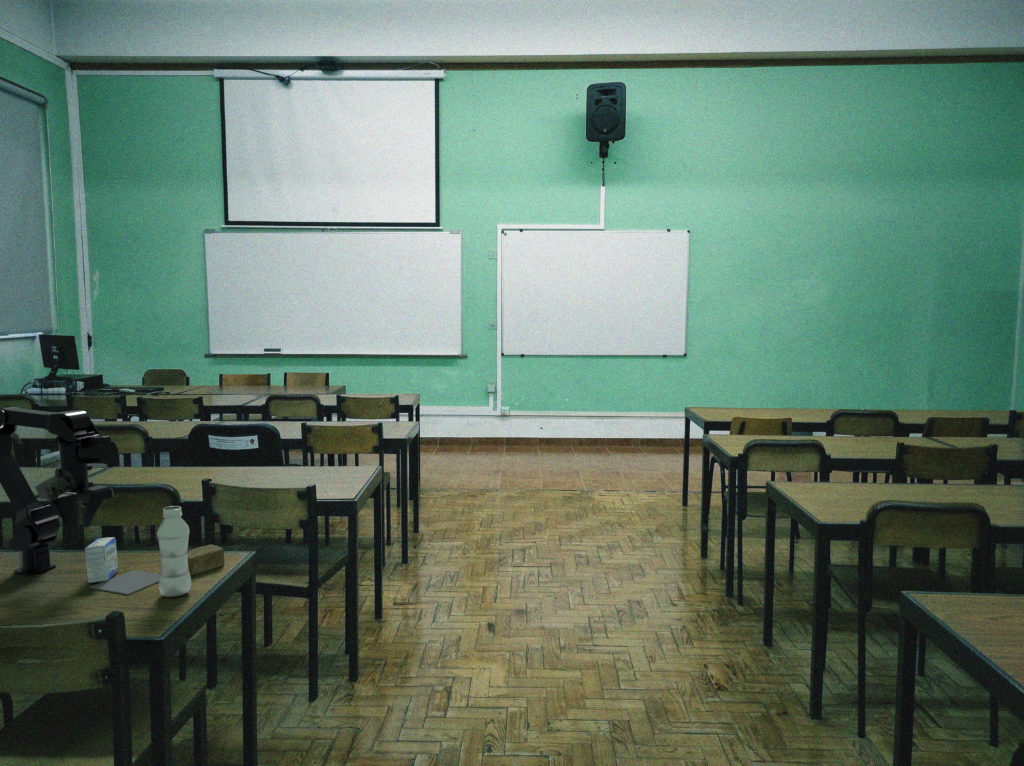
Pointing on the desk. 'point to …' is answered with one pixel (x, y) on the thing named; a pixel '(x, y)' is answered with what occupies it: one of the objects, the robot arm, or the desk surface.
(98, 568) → the medicine box
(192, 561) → the stone block
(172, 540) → the plastic bottle
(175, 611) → the desk surface
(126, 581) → the mat
